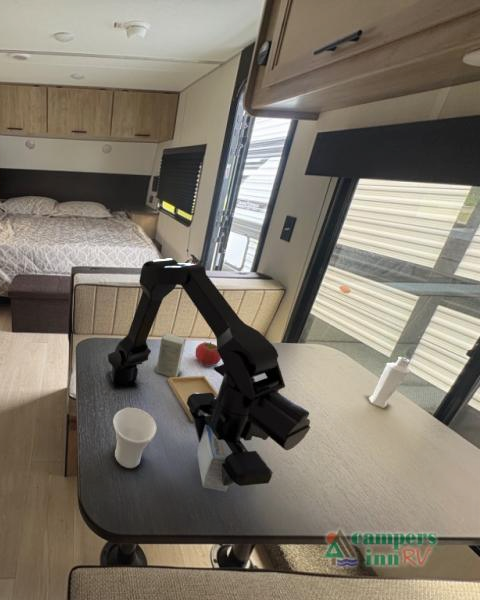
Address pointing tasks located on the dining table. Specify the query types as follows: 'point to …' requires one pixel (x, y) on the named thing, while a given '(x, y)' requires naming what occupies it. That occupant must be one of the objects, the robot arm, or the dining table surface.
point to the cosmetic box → (170, 355)
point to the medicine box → (212, 459)
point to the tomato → (207, 354)
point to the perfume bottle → (390, 381)
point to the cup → (132, 435)
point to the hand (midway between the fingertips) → (213, 463)
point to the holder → (190, 388)
